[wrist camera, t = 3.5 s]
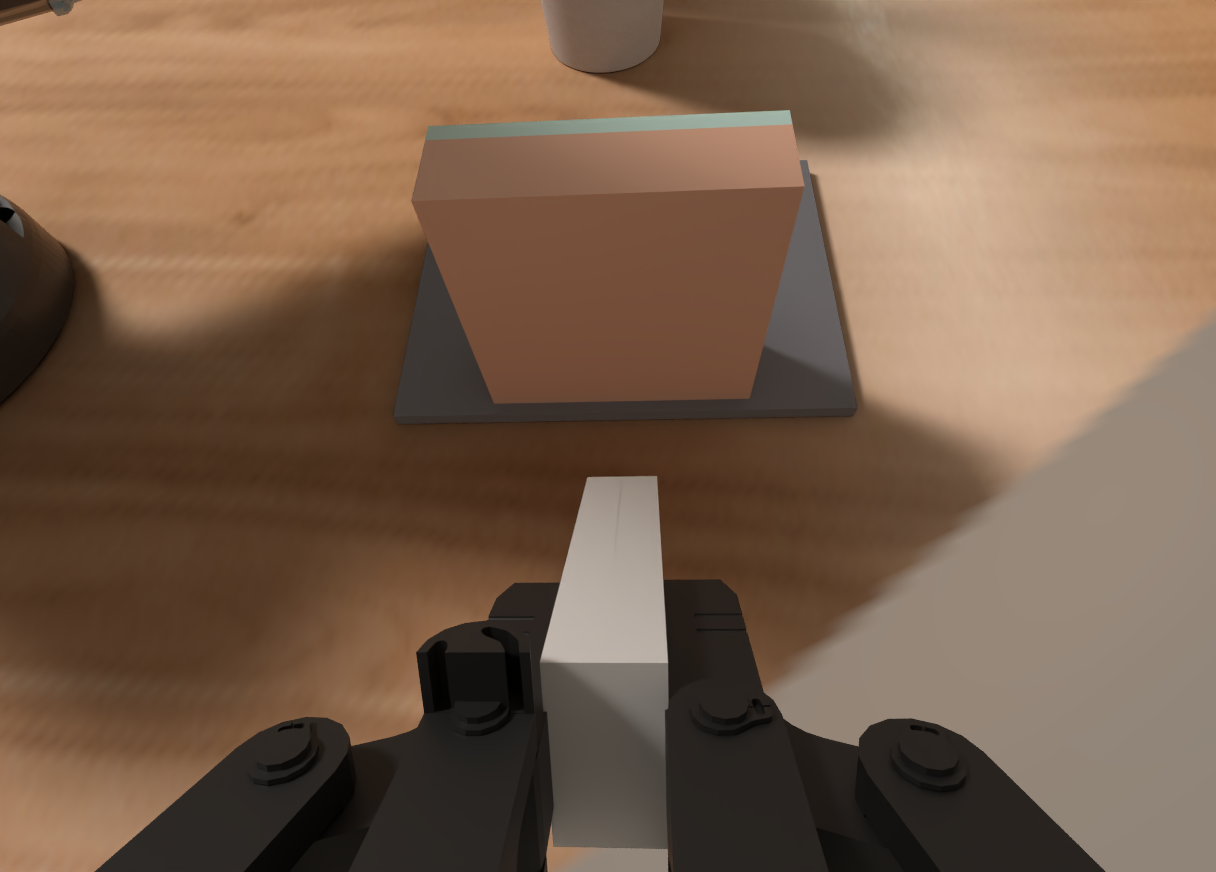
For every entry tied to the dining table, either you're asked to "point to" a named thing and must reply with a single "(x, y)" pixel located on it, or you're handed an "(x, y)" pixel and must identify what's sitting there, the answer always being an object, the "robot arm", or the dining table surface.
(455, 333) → the mat
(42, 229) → the robot arm
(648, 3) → the coffee cup
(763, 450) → the dining table surface
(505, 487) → the dining table surface
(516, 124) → the tile
